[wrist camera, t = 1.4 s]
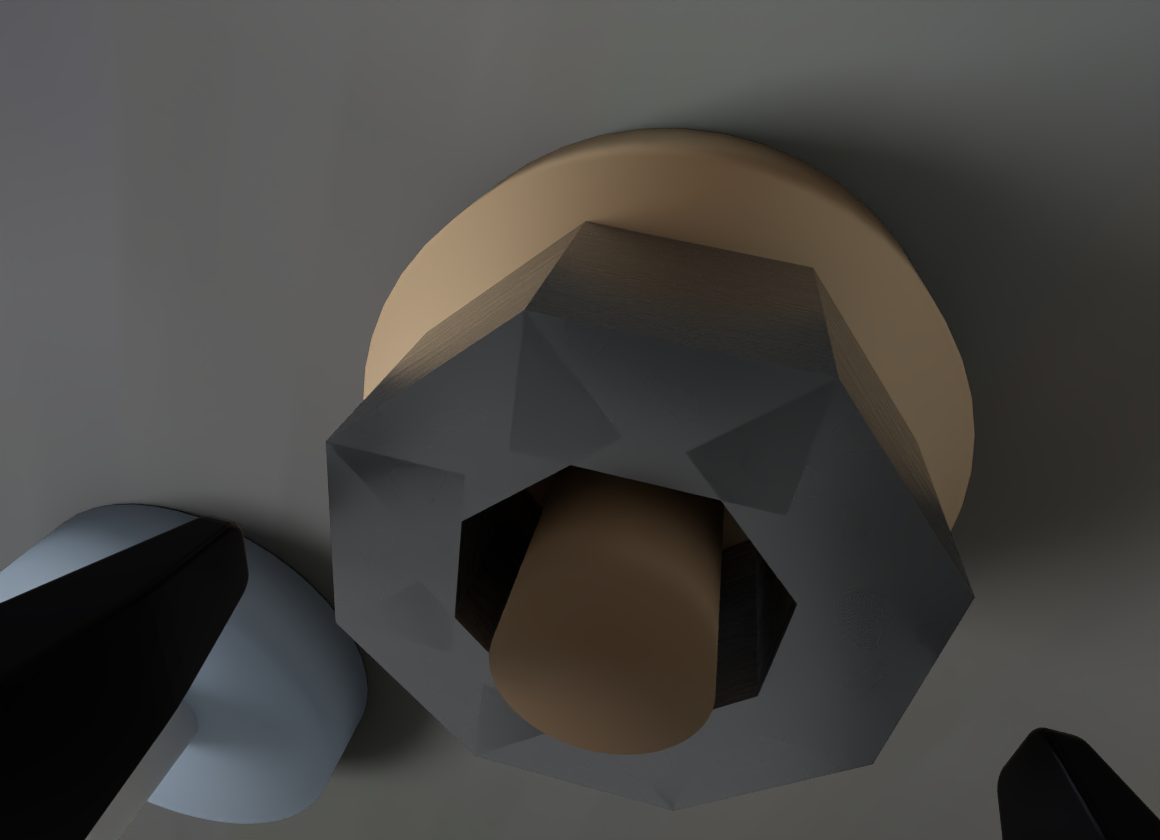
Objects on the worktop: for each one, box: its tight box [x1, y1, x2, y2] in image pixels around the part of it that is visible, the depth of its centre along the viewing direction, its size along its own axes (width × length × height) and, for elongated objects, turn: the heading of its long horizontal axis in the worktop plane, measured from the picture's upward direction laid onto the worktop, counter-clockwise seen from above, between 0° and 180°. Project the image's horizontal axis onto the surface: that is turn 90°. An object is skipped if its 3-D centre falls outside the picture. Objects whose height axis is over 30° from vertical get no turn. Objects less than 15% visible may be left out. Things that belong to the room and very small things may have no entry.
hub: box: [0, 504, 368, 840], centre depth 17 cm, size 9×9×5 cm
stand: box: [364, 128, 975, 755], centre depth 10 cm, size 9×9×6 cm
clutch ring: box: [326, 221, 975, 810], centre depth 10 cm, size 7×7×3 cm
